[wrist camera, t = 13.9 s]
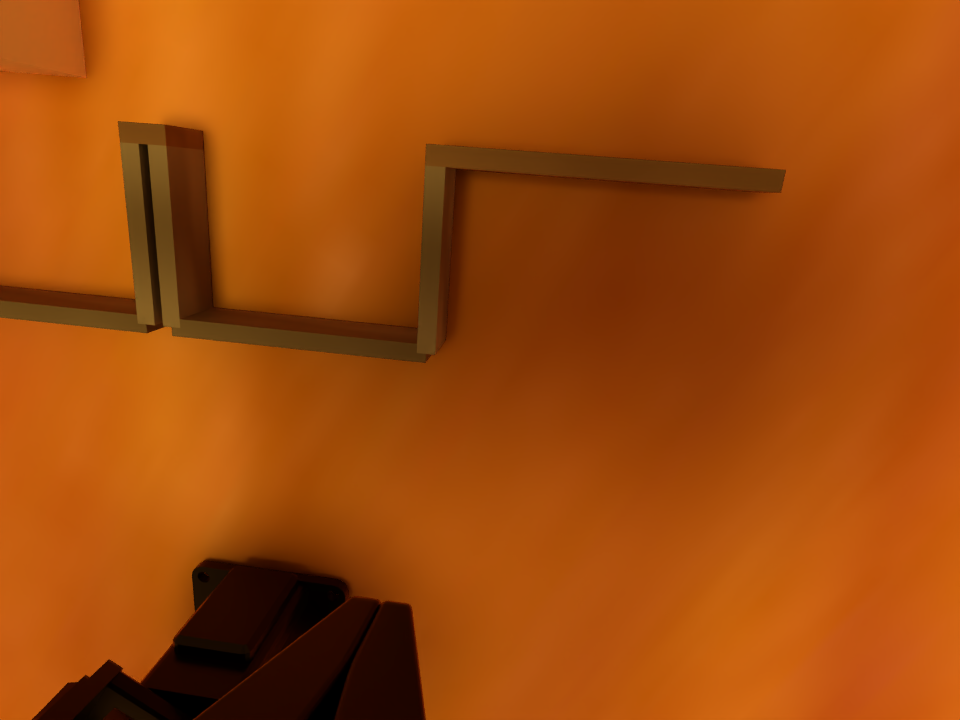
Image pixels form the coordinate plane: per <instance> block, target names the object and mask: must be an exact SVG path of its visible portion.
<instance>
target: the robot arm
mask: <svg viewBox="0 0 960 720" xmlns="http://www.w3.org/2000/svg"><path fill="white" fill-rule="evenodd" d="M204 572H205V573H207V574H208V575H209V576H207V575H206V574H205V573H204ZM192 581H193V593H194V605H195V613H194V614H193V615H192V616H191V618H190V619H189V620H188V621H187V622H186V624H185V625H184V626H183V627H182V628H181V629H180V631H179V632H178V633H177V634H176V635H175V637H174V639H173V644H172V645H171V646H170V648H169V649H168V650H167V651H166V652H165V654H164V655H163V656H162V657H161V658H160V660H159V661H158V662H157V663H156V664H155V666H154V667H153V668H152V669H151V670H150V672H149V673H148V674H147V675H146V676H145V678H144V679H143V680H142V681H141V682H140V683H139V682H137V681H136V680H134V679H133V678H131V677H130V676H128V675H127V674H125V673H123V672H122V670H123V668H122V667H120V666H119V665H117V664H116V663H114V662H113V661H111V660H108V661H107V662H106V663H105V664H104V665H102V666H101V667H100V668H99V669H98V670H97V671H96V672H95V673H94V674H93V675H92V676H91V677H88V676H87V675H85V676H84V677H83V678H82V679H81V680H80V681H78V682H73V683H67V684H66V685H65V686H64V687H63V688H62V689H61V690H60V692H59V693H58V694H57V695H56V696H55V697H54V698H53V699H52V700H51V701H50V702H49V703H48V704H47V705H46V706H45V707H44V708H43V709H42V710H41V711H40V712H39V713H38V714H37V715H36V716H35V717H34V718H33V719H32V720H426V718H425V709H424V701H423V693H422V685H421V677H420V669H419V661H418V653H417V645H416V637H415V628H414V620H413V612H412V607H411V605H409V604H407V603H400V602H394V601H385V602H383V603H381V602H380V600H378V599H373V598H366V597H359V596H354V597H352V598H350V599H349V590H348V587H347V585H346V584H345V583H344V582H343V581H341V580H338V579H333V578H326V577H319V576H312V575H305V574H298V573H291V572H284V571H277V570H270V569H262V568H255V567H248V566H241V565H234V564H227V563H220V562H213V561H203V562H201V563H200V564H199V565H198V566H197V567H196V568H195V569H194V570H193V573H192ZM332 591H336V592H337V593H338V594H339V595H336V594H334V593H333V592H332Z"/></svg>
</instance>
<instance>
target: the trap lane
mask: <svg viewBox="0 0 960 720" xmlns="http://www.w3.org/2000/svg"><path fill="white" fill-rule="evenodd" d="M118 127H119V137H120V147H121V158H122V168H123V178H124V188H125V198H126V208H127V218H128V229H129V239H130V249H131V259H132V269H133V279H134V289H135V299H136V300H135V299H125V298H116V297H106V296H96V295H86V294H76V293H66V292H57V291H47V290H37V289H27V288H17V287H7V286H0V317H1V318H10V319H20V320H29V321H38V322H48V323H57V324H66V325H76V326H85V327H94V328H104V329H113V330H122V331H132V332H141V333H149V332H152V331H154V330H157V329H160V328H163V327H172V336H178V337H188V338H197V339H207V340H216V341H225V342H235V343H244V344H253V345H263V346H272V347H281V348H291V349H300V350H309V351H319V352H328V353H337V354H347V355H356V356H366V357H375V358H384V359H394V360H403V361H412V362H422V363H426V361H427V360H428V359H429V357H430V356H431V355H435V354H436V353H437V352H438V350H439V349H440V347H441V346H442V344H443V343H444V341H445V340H446V329H447V313H448V296H449V279H450V262H451V246H452V229H453V212H454V196H455V179H456V169H459V170H472V171H485V172H498V173H511V174H525V175H538V176H551V177H564V178H577V179H590V180H603V181H616V182H629V183H642V184H655V185H668V186H682V187H695V188H708V189H721V190H734V191H747V192H769V193H781V190H782V186H783V181H784V177H785V172H786V170H780V169H766V168H752V167H738V166H725V165H711V164H697V163H684V162H670V161H656V160H642V159H629V158H615V157H601V156H587V155H574V154H560V153H546V152H533V151H519V150H505V149H491V148H478V147H464V146H450V145H436V144H426V157H425V180H424V202H423V224H422V246H421V269H420V291H419V313H418V328H411V327H401V326H391V325H381V324H371V323H361V322H352V321H342V320H332V319H322V318H312V317H302V316H293V315H283V314H273V313H263V312H253V311H243V310H234V309H224V308H214V307H213V299H212V282H211V266H210V249H209V232H208V215H207V199H206V182H205V165H204V148H203V132H202V131H200V130H194V129H188V128H182V127H176V126H169V125H162V124H148V123H134V122H121V121H118Z"/></svg>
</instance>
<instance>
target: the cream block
mask: <svg viewBox="0 0 960 720" xmlns="http://www.w3.org/2000/svg"><path fill="white" fill-rule="evenodd" d="M0 71H8V72H20V73H32V74H44V75H57V76H69V77H81V78H86V68H85V58H84V48H83V38H82V28H81V18H80V8H79V0H0Z"/></svg>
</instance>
